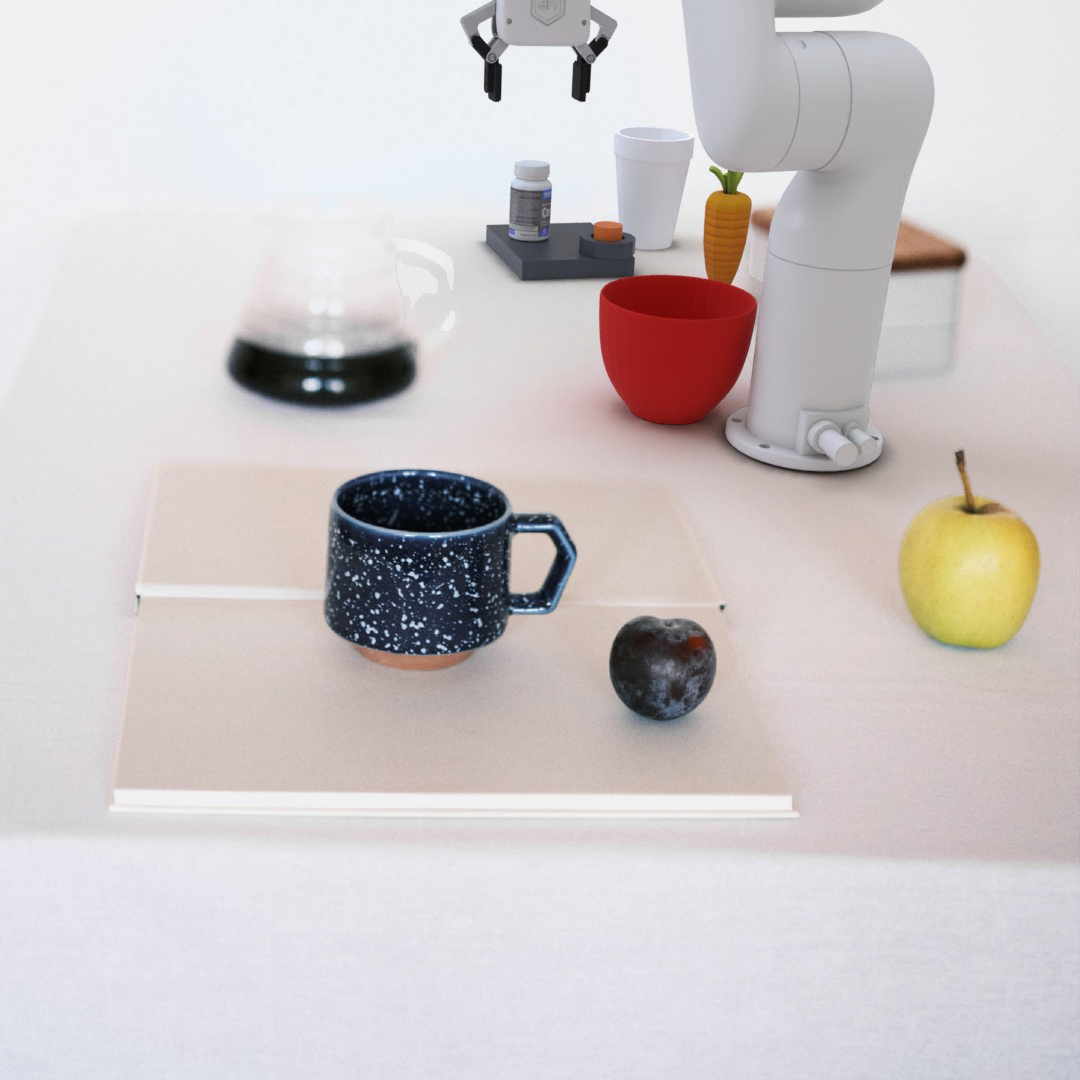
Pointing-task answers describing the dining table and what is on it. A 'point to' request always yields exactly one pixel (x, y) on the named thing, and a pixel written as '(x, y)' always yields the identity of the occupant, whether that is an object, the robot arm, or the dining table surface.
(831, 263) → the robot arm
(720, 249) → the carrot
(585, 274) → the scale
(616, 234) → the button
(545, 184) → the pill bottle
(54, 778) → the dining table surface
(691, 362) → the ceramic cup
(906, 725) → the dining table surface
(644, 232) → the foam cup
